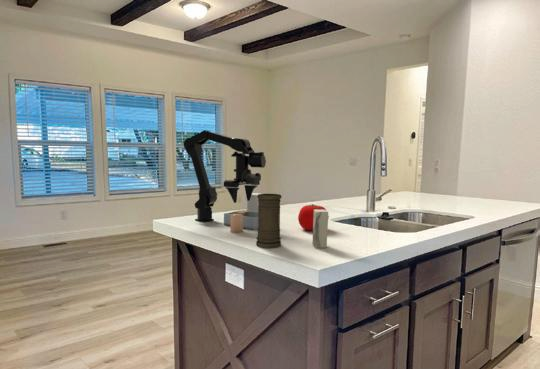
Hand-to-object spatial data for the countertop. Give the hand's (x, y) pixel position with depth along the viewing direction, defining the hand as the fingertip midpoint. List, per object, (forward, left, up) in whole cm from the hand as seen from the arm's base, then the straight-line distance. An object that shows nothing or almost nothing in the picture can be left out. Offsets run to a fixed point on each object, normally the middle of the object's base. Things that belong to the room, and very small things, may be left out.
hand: (242, 201), depth 170 cm
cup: (-4, +14, -10) cm, 18 cm away
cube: (0, 0, -10) cm, 10 cm away
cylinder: (+9, -14, -10) cm, 19 cm away
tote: (+4, 0, -10) cm, 11 cm away
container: (+32, -23, -10) cm, 40 cm away
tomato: (+31, +10, -10) cm, 34 cm away
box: (+47, -13, -10) cm, 50 cm away
